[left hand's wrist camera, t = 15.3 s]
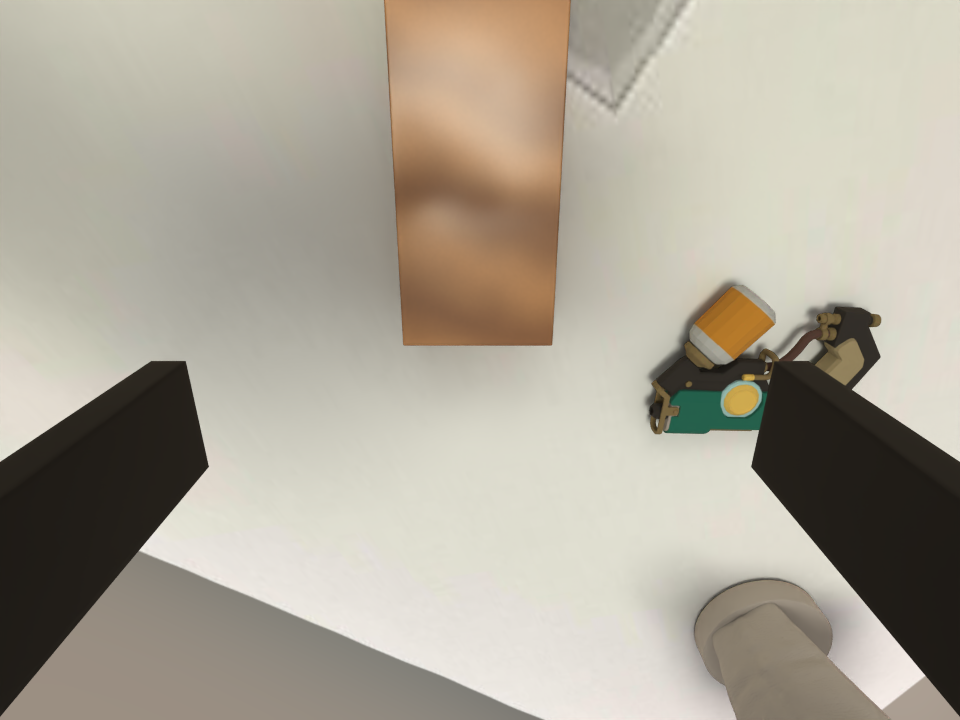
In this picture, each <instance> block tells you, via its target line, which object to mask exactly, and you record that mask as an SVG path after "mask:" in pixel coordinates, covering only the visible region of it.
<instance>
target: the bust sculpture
mask: <svg viewBox="0 0 960 720" xmlns="http://www.w3.org/2000/svg"><path fill="white" fill-rule="evenodd" d="M695 641H696V645H697V647H698V649H699V652H700V654H701V656H702V659H703V661H704V663H705V666H706V668H707V670H708V671H709V673H710V674H711V675H712V676H713V677H714V678H715V679H716V680H717V681H718V682H720V683H722V684H723V685H725V686H726V689H727V693H728V696H729V699H730V702H731V705H732V707H733V710H734V712H735V715H736V719H737V720H891V719H890V718H889V717H888V716H887V715H886V714H885V713H884V712H883V711H882V710H881V709H880V708H879V707H878V706H877V705H876V704H875V703H874V702H873V701H871V700H870V699H869V698H868V697H867V696H866V695H865V694H864V693H863V692H862V691H861V690H860V689H859V688H858V687H857V686H856V685H855V684H854V683H853V682H852V681H851V680H850V679H849V678H848V677H847V676H846V675H845V674H844V673H843V672H841V671H840V670H839V669H838V668H837V667H836V666H835V664H834V663H833V662H832V661H831V660H830V659H829V658H828V657H827V655H828V653H829V651H830V648H831V645H832V629H831V626H830V623H829V622H828V620H827V618H826V617H825V616H824V614H823V613H822V612H821V610H820V609H819V607H818V606H817V605H816V603H815V602H814V601H813V599H812V598H811V597H810V595H809V594H808V593H806V592H805V591H804V590H802V589H801V588H799V587H797V586H795V585H793V584H790V583H787V582H783V581H776V580H759V581H752V582H747V583H744V584H740V585H737V586H735V587H732V588H730V589H728V590H726V591H724V592H723V593H721V594H720V595H718V596H717V597H715V598H714V599H713V600H712V601H711V602H710V603H709V604H708V605H707V606H706V607H705V608H704V609H703V611H702V612H701V614H700V615H699V617H698V620H697V622H696V626H695Z"/></svg>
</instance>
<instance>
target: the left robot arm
mask: <svg viewBox="0 0 960 720" xmlns="http://www.w3.org/2000/svg"><path fill="white" fill-rule="evenodd" d="M208 467H209V466H208V461H207V456H206V452H205V447H204V443H203V438H202V434H201V429H200V424H199V420H198V415H197V411H196V406H195V402H194V397H193V392H192V388H191V383H190V379H189V374H188V370H187V365H186V361H151V362H149V363H148V364H146V365H145V366H143V367H142V368H140V369H139V370H137V371H136V372H134V373H133V374H131V375H130V376H128V377H127V378H125V379H124V380H122V381H121V382H119V383H118V384H116V385H115V386H113V387H112V388H110V389H109V390H107V391H106V392H104V393H103V394H101V395H100V396H98V397H97V398H95V399H94V400H92V401H91V402H89V403H88V404H86V405H85V406H83V407H82V408H80V409H79V410H77V411H76V412H74V413H73V414H71V415H70V416H68V417H67V418H65V419H64V420H62V421H61V422H59V423H58V424H56V425H55V426H53V427H52V428H50V429H49V430H47V431H46V432H44V433H43V434H41V435H40V436H38V437H37V438H35V439H34V440H32V441H31V442H29V443H28V444H26V445H25V446H23V447H22V448H20V449H19V450H17V451H16V452H14V453H13V454H11V455H10V456H8V457H7V458H5V459H4V460H2V461H1V462H0V716H1V715H2V714H3V713H4V711H5V710H6V709H7V708H8V707H9V705H10V704H11V703H12V702H13V701H14V699H15V698H16V697H17V696H18V695H19V693H20V692H21V691H22V690H23V689H24V687H25V686H26V685H27V684H28V683H29V681H30V680H31V679H32V678H33V677H34V675H35V674H36V673H37V672H38V671H39V669H40V668H41V667H42V666H43V665H44V664H45V662H46V661H47V660H48V659H49V657H50V656H51V655H52V654H53V653H54V651H55V650H56V649H57V648H58V647H59V645H60V644H61V643H62V642H63V641H64V639H65V638H66V637H67V636H68V635H69V634H70V632H71V631H72V630H73V629H74V628H75V626H76V625H77V624H78V623H79V622H80V620H81V619H82V618H83V617H84V616H85V614H86V613H87V612H88V611H89V610H90V608H91V607H92V606H93V605H94V604H95V602H96V601H97V600H98V599H99V598H100V596H101V595H102V594H103V593H104V592H105V590H106V589H107V588H108V587H109V586H110V584H111V583H112V582H113V581H114V580H115V578H116V577H117V576H118V575H119V574H120V572H121V571H122V570H123V569H124V568H125V566H126V565H127V564H128V563H129V562H130V561H131V559H132V558H133V557H134V556H135V555H136V553H137V552H138V551H139V550H140V549H141V547H142V546H143V545H144V544H145V543H146V541H147V540H148V539H149V538H150V537H151V535H152V534H153V533H154V532H155V531H156V529H157V528H158V527H159V526H160V525H161V523H162V522H163V521H164V520H165V519H166V517H167V516H168V515H169V514H170V513H171V511H172V510H173V509H174V508H175V507H176V505H177V504H178V503H179V502H180V501H181V499H182V498H183V497H184V496H185V495H186V493H187V492H188V491H189V490H190V489H191V487H192V486H193V485H194V484H195V483H196V481H197V480H198V479H199V478H200V477H201V475H202V474H203V473H204V472H205V471H206V469H207V468H208ZM751 467H752V468H753V469H754V471H755V472H756V473H757V474H758V475H759V477H760V478H761V479H762V480H763V481H764V483H765V484H766V485H767V486H768V487H769V489H770V490H771V491H772V492H773V493H774V495H775V496H776V497H777V498H778V499H779V501H780V502H781V503H782V504H783V505H784V507H785V508H786V509H787V510H788V511H789V513H790V514H791V515H792V516H793V517H794V519H795V520H796V521H797V522H798V523H799V525H800V526H801V527H802V528H803V529H804V531H805V532H806V533H807V534H808V535H809V537H810V538H811V539H812V540H813V541H814V543H815V544H816V545H817V546H818V547H819V549H820V550H821V551H822V552H823V553H824V555H825V556H826V557H827V558H828V559H829V561H830V562H831V563H832V564H833V565H834V567H835V568H836V569H837V570H838V571H839V572H840V574H841V575H842V576H843V577H844V578H845V580H846V581H847V582H848V583H849V584H850V586H851V587H852V588H853V589H854V590H855V592H856V593H857V594H858V595H859V596H860V598H861V599H862V600H863V601H864V602H865V604H866V605H867V606H868V607H869V608H870V610H871V611H872V612H873V613H874V614H875V616H876V617H877V618H878V619H879V620H880V622H881V623H882V624H883V625H884V626H885V628H886V629H887V630H888V631H889V632H890V634H891V635H892V636H893V637H894V638H895V640H896V641H897V642H898V643H899V644H900V646H901V647H902V648H903V649H904V650H905V652H906V653H907V654H908V655H909V656H910V658H911V659H912V660H913V661H914V662H915V664H916V665H917V666H918V667H919V668H920V669H921V671H922V672H923V673H924V674H925V675H926V677H927V678H928V679H929V680H930V681H931V683H932V684H933V685H934V686H935V687H936V689H937V690H938V691H939V692H940V693H941V695H942V696H943V697H944V698H945V699H946V701H947V702H948V703H949V704H950V705H951V707H952V708H953V709H954V710H955V711H956V713H957V714H958V715H959V716H960V462H959V461H958V460H956V459H955V458H953V457H952V456H950V455H949V454H947V453H946V452H944V451H943V450H941V449H940V448H938V447H937V446H935V445H934V444H932V443H931V442H929V441H928V440H926V439H925V438H923V437H922V436H920V435H919V434H917V433H916V432H914V431H913V430H911V429H910V428H908V427H907V426H905V425H904V424H902V423H901V422H899V421H898V420H896V419H895V418H893V417H892V416H890V415H889V414H887V413H886V412H884V411H883V410H881V409H880V408H878V407H877V406H875V405H874V404H872V403H871V402H869V401H868V400H866V399H865V398H863V397H862V396H860V395H859V394H857V393H856V392H854V391H853V390H851V389H850V388H848V387H847V386H845V385H844V384H842V383H841V382H839V381H838V380H836V379H835V378H833V377H832V376H830V375H829V374H827V373H826V372H824V371H823V370H821V369H820V368H818V367H817V366H815V365H814V364H812V363H811V362H809V361H774V365H773V370H772V374H771V379H770V383H769V388H768V392H767V397H766V402H765V406H764V411H763V415H762V420H761V424H760V429H759V434H758V438H757V443H756V447H755V452H754V456H753V461H752V466H751Z"/></svg>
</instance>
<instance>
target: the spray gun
mask: <svg viewBox="0 0 960 720" xmlns="http://www.w3.org/2000/svg"><path fill="white" fill-rule="evenodd" d="M816 320H817V322H818V323H821V325H820V328H817V329H816V330H812V331H810V332H808V333H806V334H805V335H804V336H802V337H801V339H800V340H799V341H798V342H797V344H796V345H795V346H794V347H793V348H792V349H791V350H790V351H789V352H788V353H787V354H786V355H785V356H783V357H782V358H781V359H779V358H778V357H777V356H776V355H775V353H774V352H772V351H770V350H768V349H763V351H762V352H761V353H760V355H759V359H736V358H737V357H738V356H739V355H740V354H742V353H743V352H744V351H745V350H746V349H747V348H748V347H750V346H751V345H752V344H753V343H754V342H755V341H756V340H758V339H759V338H760V337H761V336H762V335H763V334H764V333H766V332H767V331H768V330H769V329H770V328H771V327H772V326H774V325H775V323H776V318H775V312H774V311H773V310H772V308H771V307H770V306H769V305H768V304H767V303H765V302H764V301H763V300H762V299H761V298H760V297H759V296H758V295H756V294H755V293H754V292H752V291H751V290H750V289H748V288H747V287H746V286H743V285H739V286H732V287H731V288H730V289H729V290H728V291H727V292H726V293H725V294H724V295H723V296H722V297H721V298H720V299H719V300H718V301H717V302H716V303H715V304H714V305H713V306H711V307H710V308H709V309H708V310H707V311H706V312H705V313H704V314H703V315H702V316H701V317H700V318H699V319H698V320H697V321H696V322H695V323H694V325H693V326H692V328H691V329H690V331H689V336H690V341H691V342H690V341H688V342H687V343H685V344H684V347H685V350H686V356H687V357H686V356H684V357H682V358H680V359H679V360H678V361H677V362H676V363H675V364H673V365H672V366H671V367H670V368H669V369H667V370H666V371H665V372H664V373H663V374H662V375H660V376H659V377H658V378H657V379H656V380H655V381H653V382H652V383H651V384H652V385H653V387H654V388H655V390H656V391H657V392H656V397H655V401H654V404H653V405H651V406H650V410H649V411H650V415H651V420H650V425H651V429H652V431H653V432H654V433H655V434H661V433H662V431H664V432H665V433H689V434H705V433H707V432H709V431H710V430H724V431H752V430H759V429H760V424H761V420H762V415H763V411H764V406H765V402H766V397H767V392H768V388H769V385H768V383H767V380H769V379H771V374H772V370H773V365H774V361H793V360H794V359H795V358H796V357H797V356H798V355H799V354H800V353H801V352H802V351H803V350H804V348H805V347H806V346H807V345H808V343H809V342H811V341H812V340H813V339H817V340H824V341H825V342H824V345H825V347H826V348H827V350H828V352H827V353H826V354H825V355H824V356H823V357H822V358H821V359H820V360H819V361H818V362H817V363H816V364H815V366H817V367H818V368H820V369H821V370H823V371H824V372H826V373H827V374H829V375H830V376H832V377H833V378H835V379H836V380H838V381H839V382H841V383H842V384H844V385H845V386H847V387H848V388H850V389H851V390H852V389H853V387H854V386H855V385H856V384H857V383H858V382H859V381H860V380H861V379H862V378H863V376H864V375H865V374H866V373H867V372H868V371H869V370H870V369H871V367H872V366H873V365H874V364H875V363H876V362H877V361H878V360H879V359H880V354H879V351H878V349H877V346H876V344H875V341H874V339H873V336H872V334H871V332H870V329H869V327H877V326H879V325H880V323H881V317H880V316H879V315H877V314H871V313H870V312H868V311H866V310H864V309H862V308H854V307H835V310H834V313H833V315H832V314H831V313H822V314H819V315H818V316H817V319H816ZM828 325H829V327H828ZM827 327H828V328H827ZM766 355H767V356H769V357H770V358H771V359H772V362H768V363H766V362H765V358H766ZM713 363H715V364H724V365H722V366H721V367H719V368H712V367H713V366H715V365H714V364H713ZM699 367H703V368H699ZM766 371H769V373H768V374H765V375H764V372H766ZM664 390H666V391H664ZM661 396H662V397H661ZM656 419H659V423H658V428H657V426H656Z"/></svg>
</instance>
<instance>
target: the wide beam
mask: <svg viewBox="0 0 960 720" xmlns="http://www.w3.org/2000/svg"><path fill="white" fill-rule="evenodd" d="M570 3H571V0H384V7H385V25H386V43H387V61H388V79H389V97H390V115H391V133H392V151H393V169H394V187H395V205H396V223H397V241H398V259H399V277H400V295H401V313H402V331H403V345H552V339H553V321H554V302H555V283H556V265H557V246H558V227H559V209H560V190H561V171H562V153H563V134H564V115H565V97H566V78H567V59H568V41H569V22H570Z"/></svg>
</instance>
